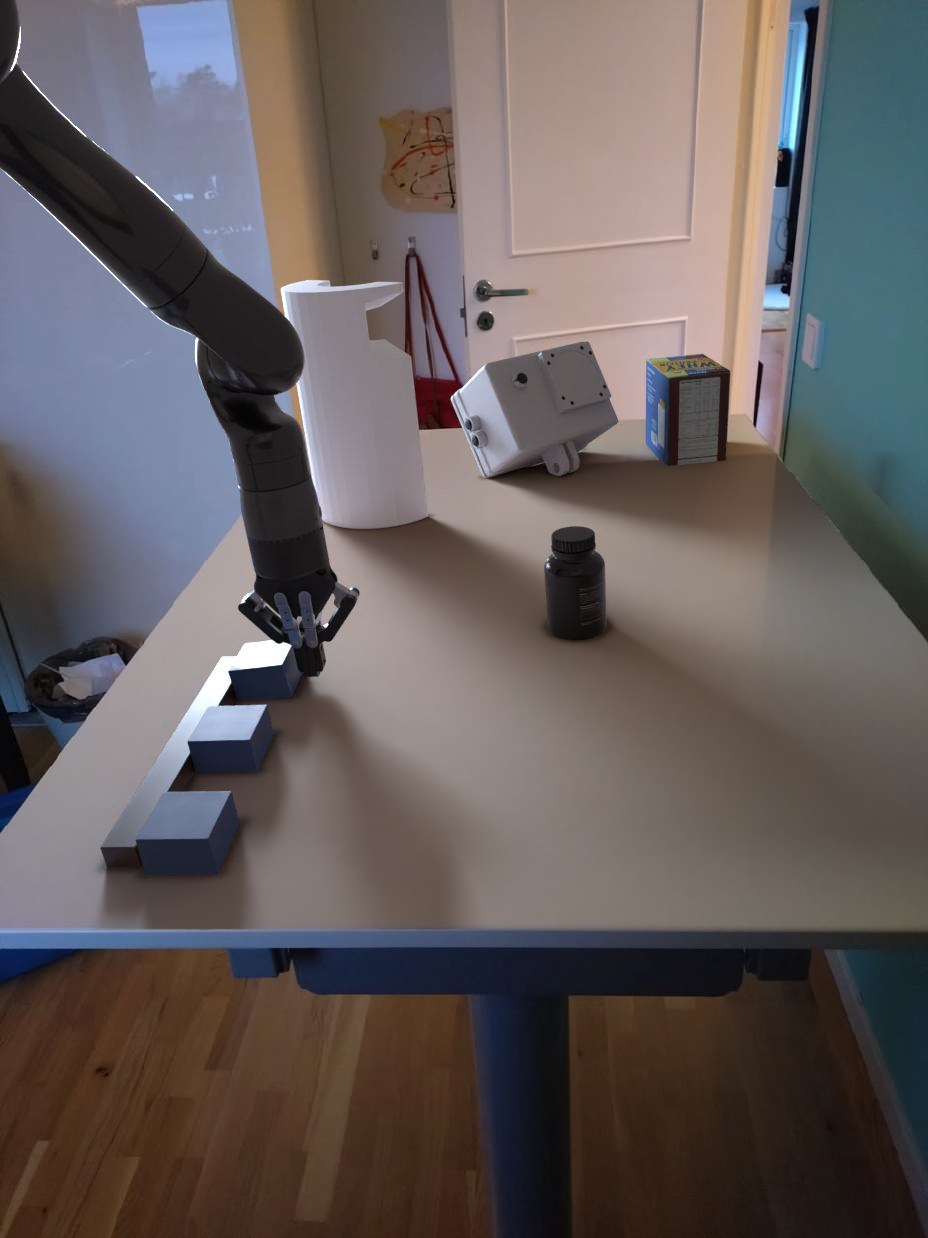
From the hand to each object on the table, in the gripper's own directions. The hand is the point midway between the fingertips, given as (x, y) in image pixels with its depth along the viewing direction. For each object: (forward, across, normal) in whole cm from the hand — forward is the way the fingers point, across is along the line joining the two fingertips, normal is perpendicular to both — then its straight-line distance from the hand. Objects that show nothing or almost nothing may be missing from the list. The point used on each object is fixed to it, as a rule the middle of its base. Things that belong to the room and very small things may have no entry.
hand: (313, 673), depth 96 cm
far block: (+1, -5, 0) cm, 5 cm away
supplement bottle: (+2, +28, +11) cm, 31 cm away
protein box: (+3, +49, +76) cm, 91 cm away
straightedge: (+2, -10, -12) cm, 16 cm away
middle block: (+2, -5, -12) cm, 14 cm away
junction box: (+3, +23, +73) cm, 77 cm away
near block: (+2, -4, -26) cm, 26 cm away
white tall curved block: (+2, -5, +52) cm, 52 cm away
